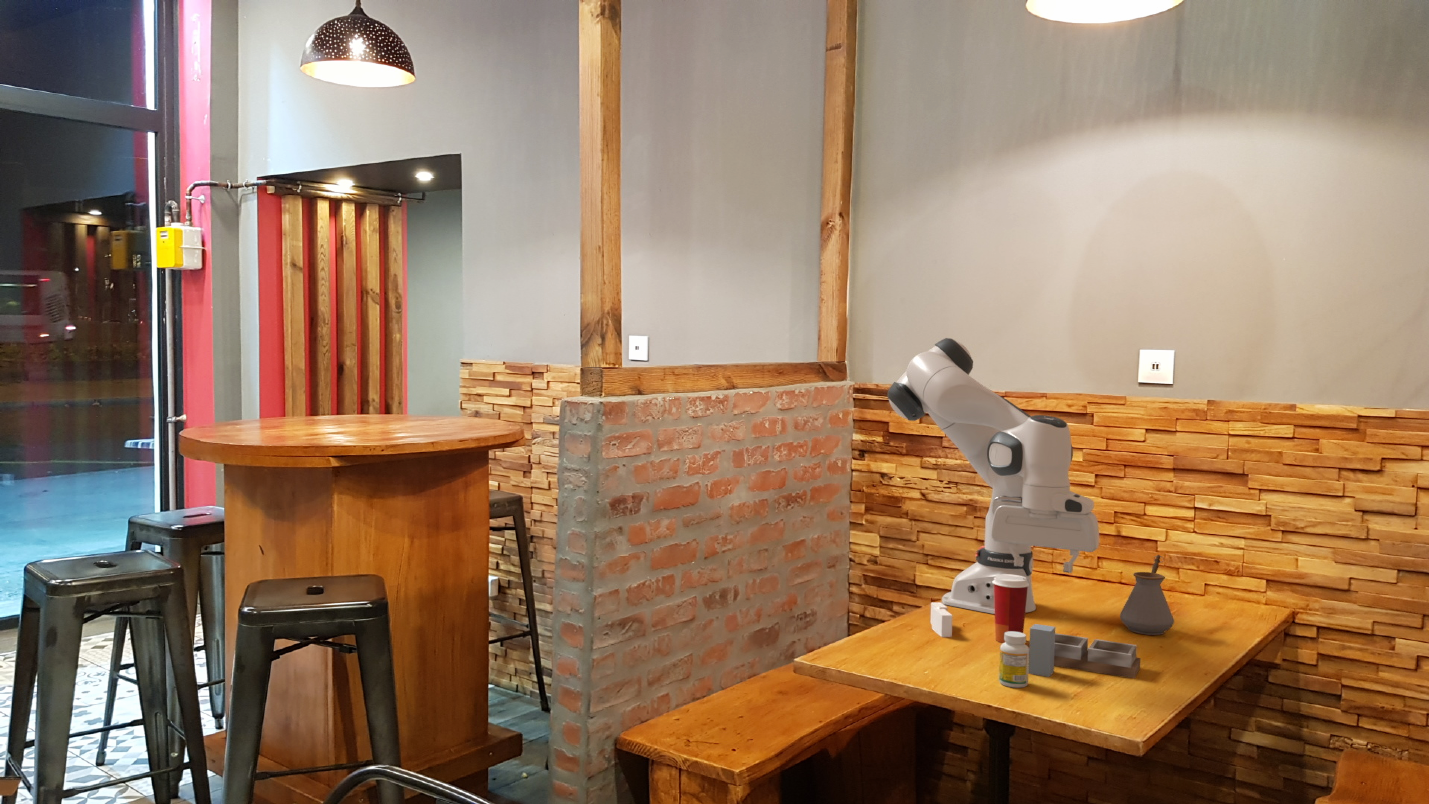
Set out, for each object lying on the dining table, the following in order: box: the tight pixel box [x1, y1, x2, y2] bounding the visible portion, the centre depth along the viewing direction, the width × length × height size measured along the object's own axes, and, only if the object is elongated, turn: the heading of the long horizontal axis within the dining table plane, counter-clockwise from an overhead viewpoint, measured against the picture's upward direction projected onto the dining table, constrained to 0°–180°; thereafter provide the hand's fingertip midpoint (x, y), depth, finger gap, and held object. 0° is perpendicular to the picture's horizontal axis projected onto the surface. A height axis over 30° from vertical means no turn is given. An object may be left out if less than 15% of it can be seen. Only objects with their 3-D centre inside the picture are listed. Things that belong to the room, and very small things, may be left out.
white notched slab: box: [930, 601, 953, 638], centre depth 237 cm, size 15×11×6 cm
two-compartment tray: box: [1054, 632, 1142, 679], centre depth 212 cm, size 19×8×4 cm, turn 61°
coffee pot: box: [1119, 554, 1175, 636], centre depth 243 cm, size 21×12×15 cm, turn 149°
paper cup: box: [992, 574, 1029, 644], centre depth 229 cm, size 8×8×14 cm
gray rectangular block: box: [1028, 623, 1056, 678], centre depth 207 cm, size 4×4×9 cm
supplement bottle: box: [998, 631, 1029, 689], centre depth 200 cm, size 5×5×10 cm
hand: (1042, 569), depth 206 cm, fingers open, 8 cm apart
